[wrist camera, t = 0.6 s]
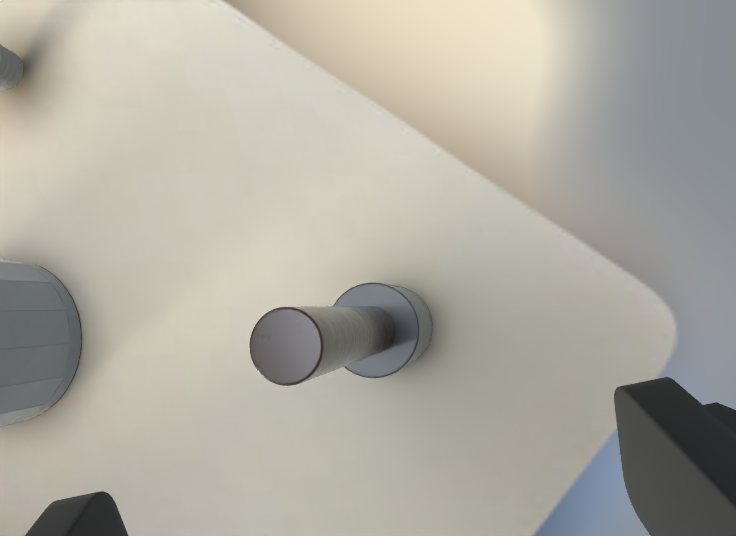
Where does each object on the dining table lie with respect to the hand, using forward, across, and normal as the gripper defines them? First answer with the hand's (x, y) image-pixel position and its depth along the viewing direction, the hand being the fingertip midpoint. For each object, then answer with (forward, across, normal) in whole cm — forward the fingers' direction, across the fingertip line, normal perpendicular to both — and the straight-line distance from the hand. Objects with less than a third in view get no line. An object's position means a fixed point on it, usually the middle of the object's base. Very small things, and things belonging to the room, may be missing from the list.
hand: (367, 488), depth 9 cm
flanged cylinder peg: (+22, 0, +6) cm, 23 cm away
